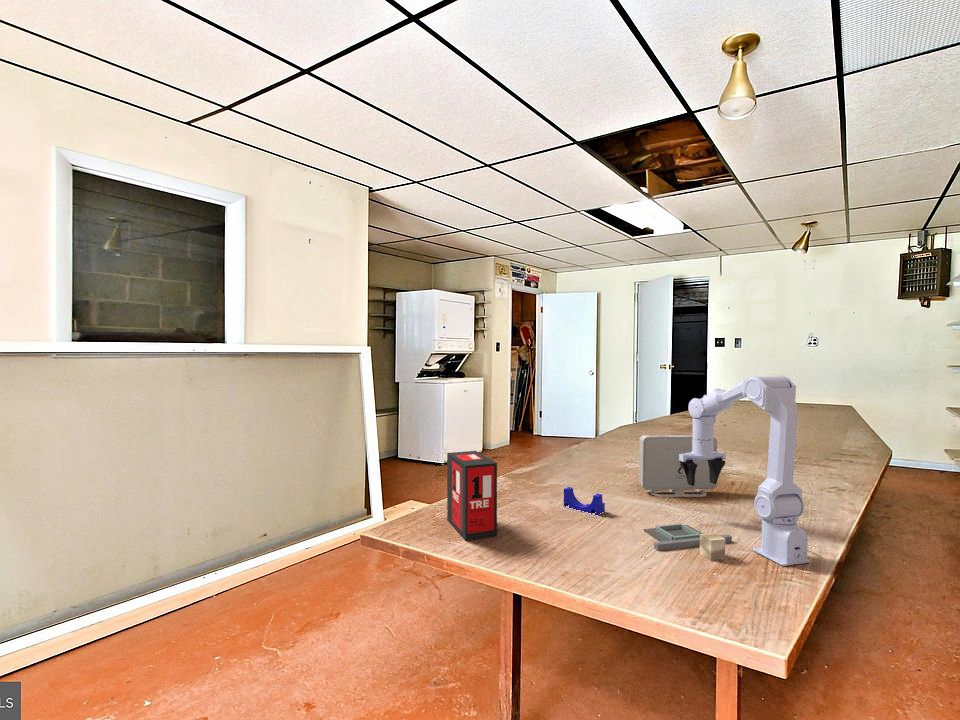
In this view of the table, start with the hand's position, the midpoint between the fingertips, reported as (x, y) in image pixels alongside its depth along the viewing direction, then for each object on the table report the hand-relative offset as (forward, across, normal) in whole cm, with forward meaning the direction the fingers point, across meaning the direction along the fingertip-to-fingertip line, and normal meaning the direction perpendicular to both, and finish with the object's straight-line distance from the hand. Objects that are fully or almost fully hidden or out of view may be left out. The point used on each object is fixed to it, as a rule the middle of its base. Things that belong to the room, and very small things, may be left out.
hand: (702, 484), depth 150 cm
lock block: (+10, +16, +24) cm, 31 cm away
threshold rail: (+10, +16, +17) cm, 25 cm away
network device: (+10, -8, -23) cm, 27 cm away
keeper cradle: (+10, +16, +11) cm, 22 cm away
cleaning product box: (+10, +69, -7) cm, 70 cm away
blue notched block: (+10, +31, -15) cm, 36 cm away
